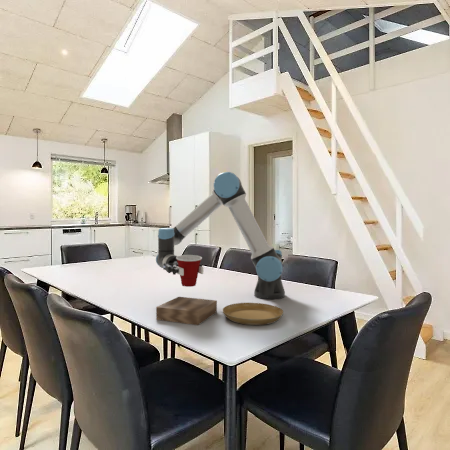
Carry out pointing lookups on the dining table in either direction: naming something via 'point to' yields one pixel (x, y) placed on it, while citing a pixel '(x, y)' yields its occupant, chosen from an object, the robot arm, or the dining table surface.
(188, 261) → the plastic cup
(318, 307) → the dining table surface
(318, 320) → the dining table surface
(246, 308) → the plant saucer
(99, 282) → the dining table surface
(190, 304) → the walnut podium
